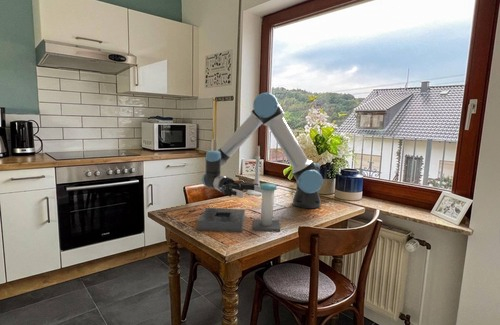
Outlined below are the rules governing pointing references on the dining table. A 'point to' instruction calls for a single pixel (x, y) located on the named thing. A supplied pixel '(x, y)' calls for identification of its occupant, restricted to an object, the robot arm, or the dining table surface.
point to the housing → (222, 220)
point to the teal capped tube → (267, 203)
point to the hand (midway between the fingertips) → (253, 192)
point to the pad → (259, 227)
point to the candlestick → (256, 174)
